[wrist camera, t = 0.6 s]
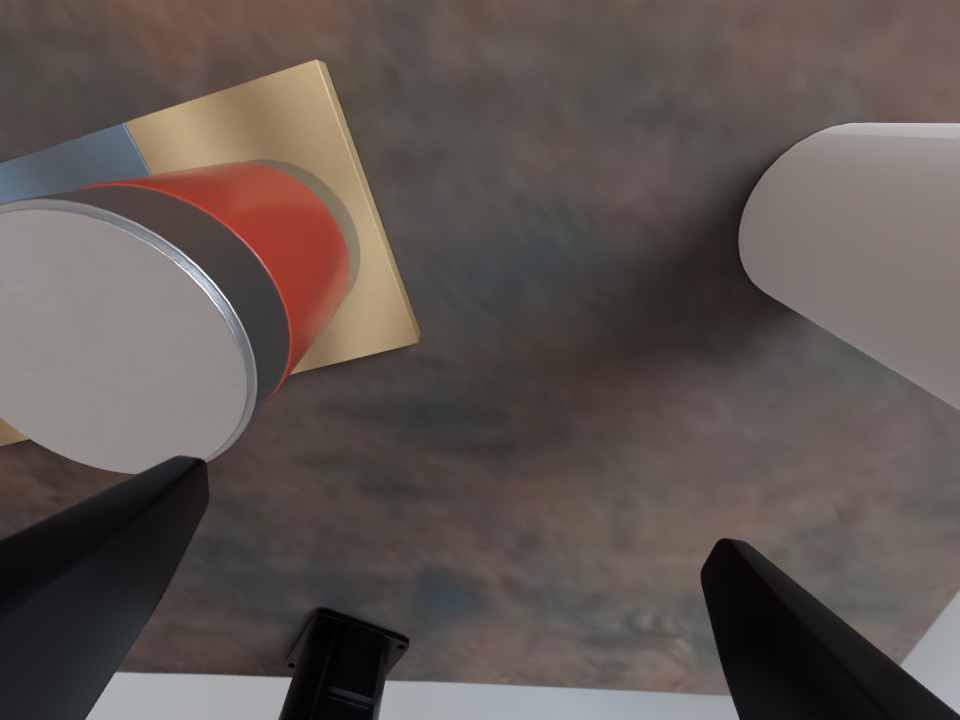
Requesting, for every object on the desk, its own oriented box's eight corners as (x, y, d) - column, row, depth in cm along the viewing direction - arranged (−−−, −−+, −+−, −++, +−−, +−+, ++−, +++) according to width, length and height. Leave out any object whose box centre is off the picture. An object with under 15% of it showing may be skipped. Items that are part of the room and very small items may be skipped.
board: (-21, 444, 25) (-40, 456, 24) (-209, 236, 20) (-242, 242, 19) (421, 334, 22) (418, 343, 21) (325, 61, 17) (316, 58, 16)
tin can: (326, 346, 21) (208, 518, 12) (177, 274, 20) (-86, 408, 10) (389, 215, 18) (300, 306, 9) (223, 121, 17) (-71, 121, 8)
